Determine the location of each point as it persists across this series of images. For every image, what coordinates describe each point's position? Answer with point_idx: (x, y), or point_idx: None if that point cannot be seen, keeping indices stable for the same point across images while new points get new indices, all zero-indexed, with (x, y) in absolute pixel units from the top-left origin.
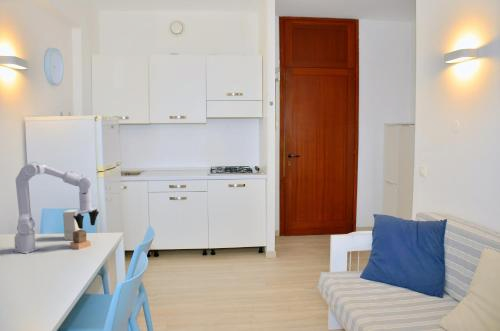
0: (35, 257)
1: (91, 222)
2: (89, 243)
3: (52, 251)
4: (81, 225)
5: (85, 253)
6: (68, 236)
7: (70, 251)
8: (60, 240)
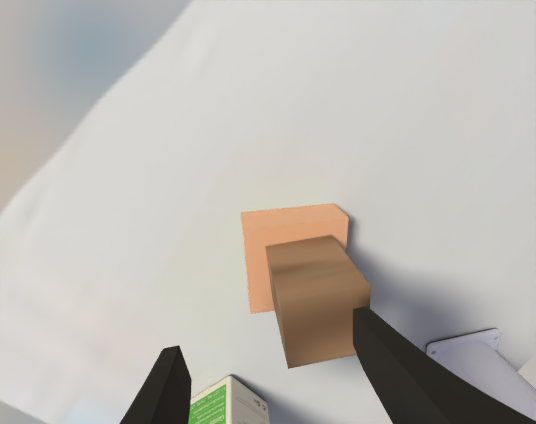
0: (528, 247)
1: (182, 408)
2: (252, 219)
3: (425, 277)
4: (397, 333)
5: (376, 73)
6: (256, 413)
7: (387, 204)
8: (279, 409)
